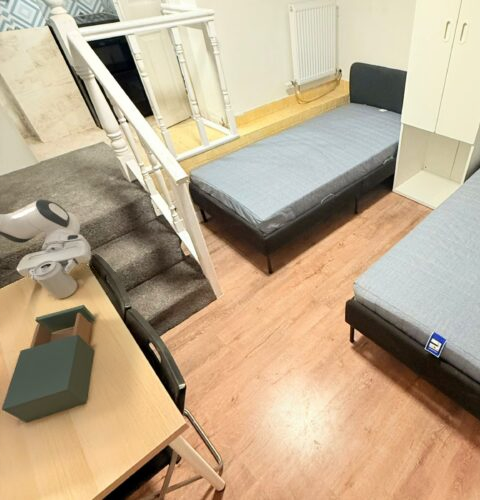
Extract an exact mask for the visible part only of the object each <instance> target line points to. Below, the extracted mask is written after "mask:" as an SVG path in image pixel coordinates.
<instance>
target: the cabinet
mask: <svg viewBox="0 0 480 500" xmlns="http://www.w3.org/2000/svg"><path fill="white" fill-rule="evenodd" d="M94 355H95V350H94V348H93V347H92V346H91V345H90V344H89V343H88V344H87V343H86V342H85V341H84V340H83V339H82V338H81V337H80V336H79V335H74V336H71V337H67V338H64V339H60V340H57V341H53V342H49V343H46V344H42V345H39V346H35V347H32V348H30V347H29V348H24V349H21V350H20V352H19V354H18V357H17V360H16V364H15V366H14V370H13V373H12V376H11V379H10V381H9V385H8V388H7V391H6V395H5V397H4V401H3V404H2V407H1V411H3V412H5V413H6V414H9V415H11V416H12V417H15V418H16V419H19V420H20V421H23V422H24V423H29V422H32V421H36V420H39V419H42V418H45V417H48V416H51V415H54V414H57V413H60V412H63V411H66V410H69V409H72V408H76V407H79V406H81V405H86V404H87V403H88V396H89V388H90V383H91V377H92V368H93V363H94Z"/></svg>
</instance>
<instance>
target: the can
mask: <svg viewBox="0 0 480 500" xmlns="http://www.w3.org/2000/svg"><path fill="white" fill-rule="evenodd" d="M62 270H63V267H62V265H61V264H60V263H58V262H55V261H53V260H48V261H44V262H42V263H40V264H38V265H37V266H36V267H35V268H34V270H33V273H34V278H35V279H36V280H37V283H39V284H40V285H41V287H43V289H45V291H47V292H48V293H49V294H50V295H51V297H53V298H54V299H59V300H60V299H65V298H68V297H70V296H71V295H73V294H74V293H75V292H76V291H77V289H78V282H77V281H76V280H75V279H74V278H73V277H72V275H71V274H70V273H69V274H64V273H63V272H62Z"/></svg>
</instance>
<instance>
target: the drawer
mask: <svg viewBox="0 0 480 500" xmlns="http://www.w3.org/2000/svg"><path fill="white" fill-rule="evenodd" d="M95 321H96V317H95V316H94V314H93V313H92V312H91V311H90V310H89V309H88V307H86V306H85V304H82V305H78V306H74V307H71V308H70V307H69V308H67V309H63V310H59V311H55V312H51V313H48V314H47V313H46V314H43V315H40V316H37V317H35V323H37V324H36V326H35V329H34V333H33V336H32V340H31V343H30V345H29V346H30V347H29V348H32V347H35V346H39V345H42V344H46V343H49V342H53V341H57V340H60V339H64V338H67V337H71V336H74V335H79V336H80V337H81V338H82V339H83V340H84V341H85V342H86V343H87V344H88V345H89V342H90V336H91V329H92V323H93V322H95Z"/></svg>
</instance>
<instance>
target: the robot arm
mask: <svg viewBox="0 0 480 500" xmlns="http://www.w3.org/2000/svg"><path fill="white" fill-rule="evenodd" d="M80 231H81V223H80V220H79V218H78V217H77V215H76V214H74V213H72V212H69V211H66V209H64V208H63V207H62V206H61V205H59V204H58V203H56V202H54V201H52V200H48V199H42V198H41V199H40V198H39V199H38V200H35V201H33V202H31V203H29V204H27V205H25V206H24V207H21V208H19V209H17V210H14V211H12V212H10V213H0V236H2V237H3V238H4V239H6V240H8V241H10V242H13V243H19V244H24V243H27V242H29V241H30V240H32V239H33V238H35V237H38V235H41V234H43V233H44V234H45V237H44V241H43V244H42V246H41V250H40V251H35V252H31V253H28V254H25V255H24V256H23V257H22V258H21V259H20V261H19V263H18V264H17V267H16V271H17V273H19V275H21V276H22V277H24V278H26V277H30V280H31V282H33V283H36V282H37V283H38V281H37V280H36V279H35V278H34V273H33V270H34V268H35V267H36V266H37V265H38V264H40V263H42V262H44V261H48V260H53V261H55V262H58V263H60V264H61V265H62V267H63V270H62V272H63V273H64V274H69V275H70V274H71V271H72V270H73V269H74V268H75V267H76V266H77V265H80V264H85V263H88V262H90V261H91V259H92V251H91V249H92V247H91V245H90V243H89V241H88V240H87V239H86V238H85V237H84V236H83V235H82V234H80Z"/></svg>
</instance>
